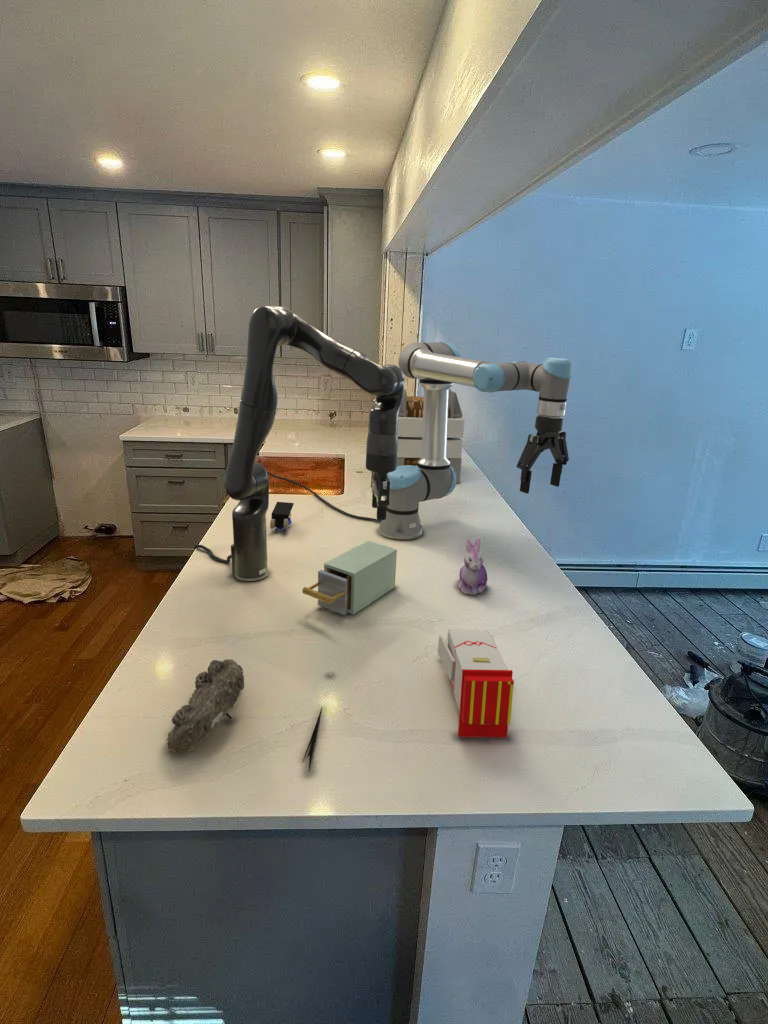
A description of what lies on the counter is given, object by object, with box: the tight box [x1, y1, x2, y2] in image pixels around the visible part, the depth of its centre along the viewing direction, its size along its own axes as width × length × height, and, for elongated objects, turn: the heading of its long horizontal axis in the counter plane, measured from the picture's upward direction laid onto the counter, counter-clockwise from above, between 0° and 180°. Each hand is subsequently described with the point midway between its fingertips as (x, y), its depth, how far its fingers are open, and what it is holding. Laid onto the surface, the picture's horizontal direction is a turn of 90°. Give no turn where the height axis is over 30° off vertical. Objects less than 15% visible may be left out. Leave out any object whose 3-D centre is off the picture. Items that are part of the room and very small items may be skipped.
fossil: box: [166, 658, 245, 754], centre depth 106 cm, size 22×10×15 cm
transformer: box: [397, 388, 465, 484], centre depth 268 cm, size 34×33×41 cm
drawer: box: [301, 569, 351, 616], centre depth 149 cm, size 24×9×10 cm, turn 146°
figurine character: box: [269, 501, 294, 534], centre depth 199 cm, size 7×8×15 cm
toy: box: [437, 628, 515, 738], centre depth 117 cm, size 12×13×30 cm
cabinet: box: [323, 540, 398, 615], centre depth 155 cm, size 20×10×12 cm, turn 146°
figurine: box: [457, 537, 488, 596], centre depth 160 cm, size 9×10×15 cm
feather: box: [301, 673, 332, 771], centre depth 108 cm, size 2×28×2 cm
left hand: (378, 513), depth 142 cm, fingers open, 8 cm apart
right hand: (539, 488), depth 165 cm, fingers open, 13 cm apart
